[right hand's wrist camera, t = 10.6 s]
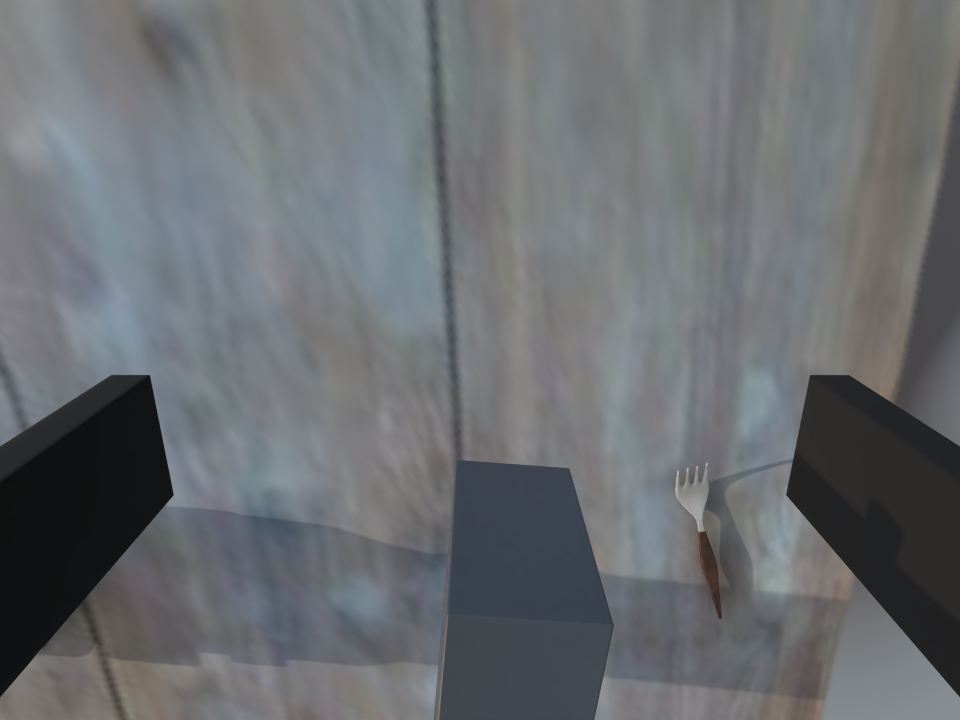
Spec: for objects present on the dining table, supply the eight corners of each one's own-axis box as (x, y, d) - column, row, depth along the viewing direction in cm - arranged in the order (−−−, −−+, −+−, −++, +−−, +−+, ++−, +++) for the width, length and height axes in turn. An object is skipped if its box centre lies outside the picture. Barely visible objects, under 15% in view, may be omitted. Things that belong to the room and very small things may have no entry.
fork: (702, 617, 52) (710, 635, 50) (667, 458, 46) (675, 471, 44) (733, 610, 51) (742, 628, 49) (701, 449, 46) (710, 462, 44)
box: (455, 459, 34) (446, 614, 23) (569, 467, 34) (614, 625, 23) (430, 765, 42) (413, 987, 31) (521, 769, 42) (538, 992, 31)
